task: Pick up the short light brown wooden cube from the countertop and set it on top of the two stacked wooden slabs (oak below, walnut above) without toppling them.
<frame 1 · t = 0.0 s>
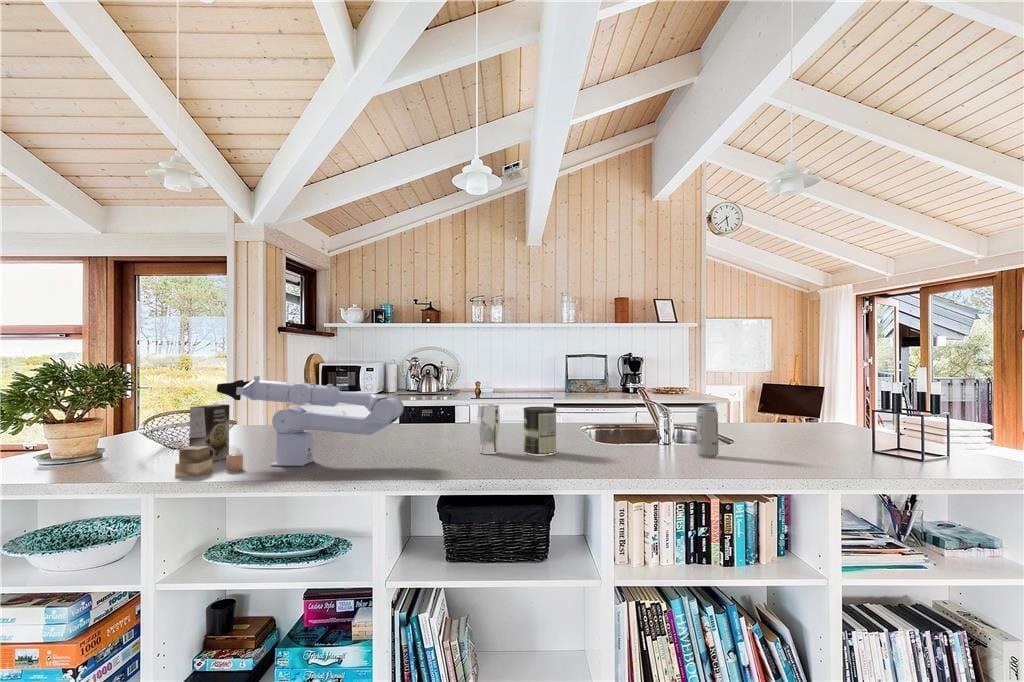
hand: (225, 387, 156), 22 cm above the countertop, tool horizontal, fingers open, 7 cm apart
coffee box: (209, 461, 160), on the countertop
walnut slab: (194, 461, 142), point 3 cm above the countertop, touching oak slab
light brown wooden cube: (234, 470, 147), on the countertop
energy drink can: (707, 457, 163), on the countertop
oak slab: (194, 474, 142), on the countertop, touching walnut slab
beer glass: (488, 453, 170), on the countertop
coffee can: (540, 454, 170), on the countertop
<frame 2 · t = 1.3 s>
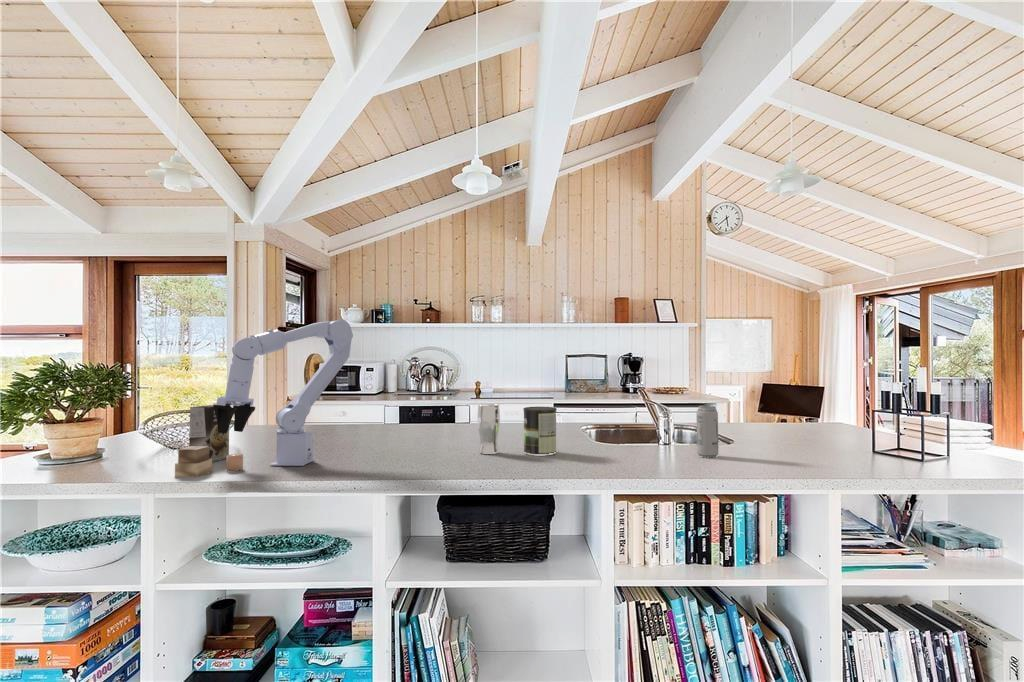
hand: (230, 432, 147), 10 cm above the countertop, tool pointing down, fingers open, 7 cm apart
nothing on the countertop moved.
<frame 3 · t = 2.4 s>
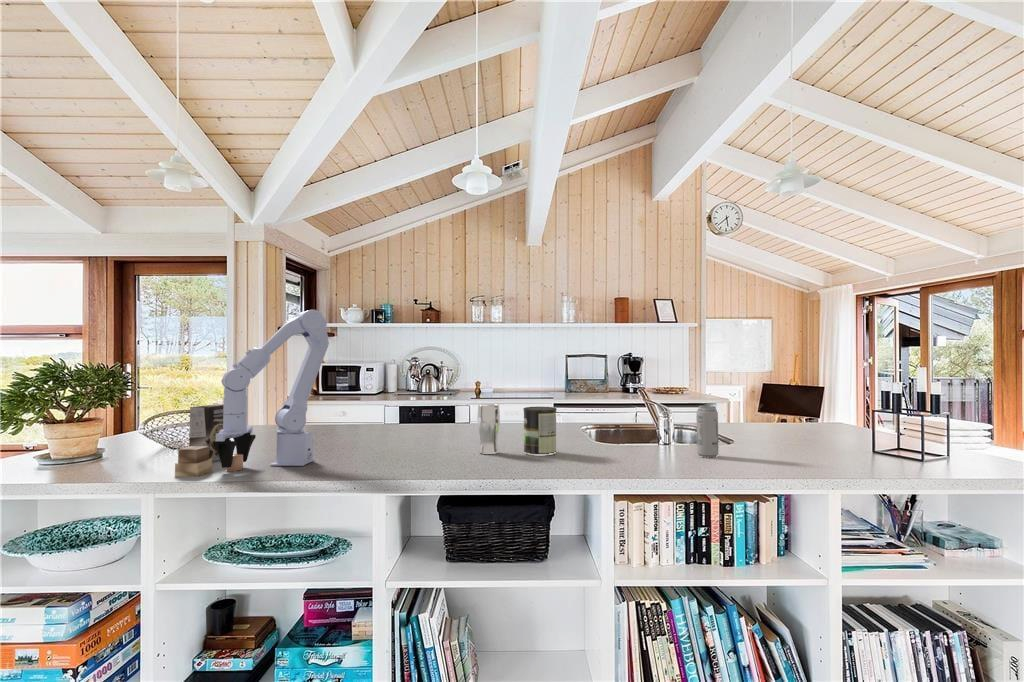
hand: (234, 464, 147), 1 cm above the countertop, tool pointing down, fingers open, 7 cm apart
nothing on the countertop moved.
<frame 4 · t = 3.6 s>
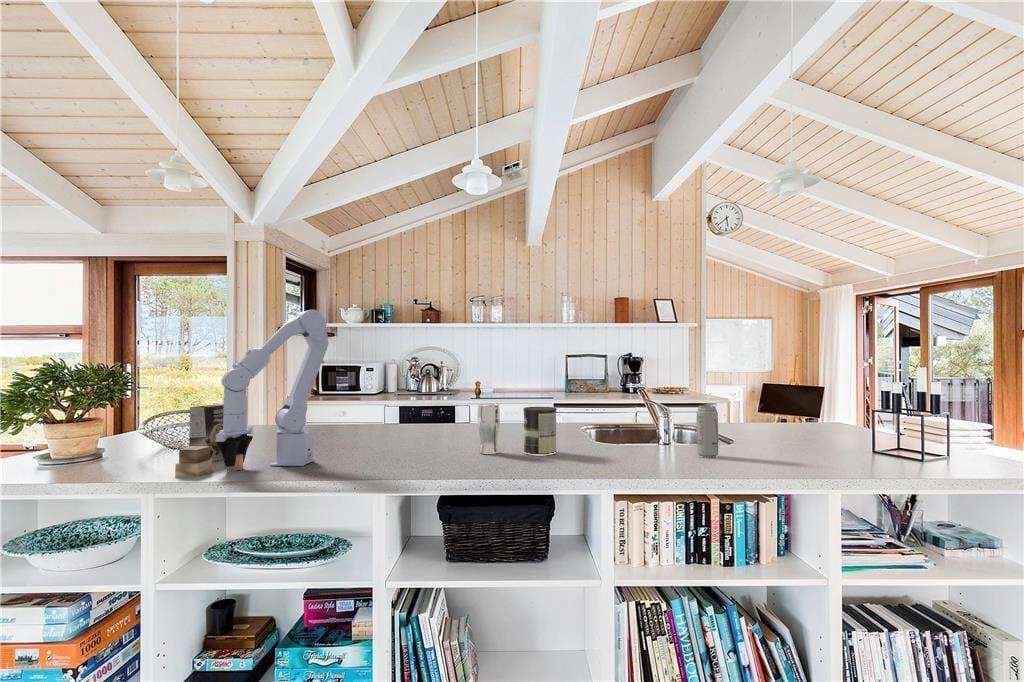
hand: (234, 464, 147), 1 cm above the countertop, tool pointing down, fingers closed on light brown wooden cube, 4 cm apart
light brown wooden cube: (234, 470, 147), on the countertop, touching gripper
everything else where it was.
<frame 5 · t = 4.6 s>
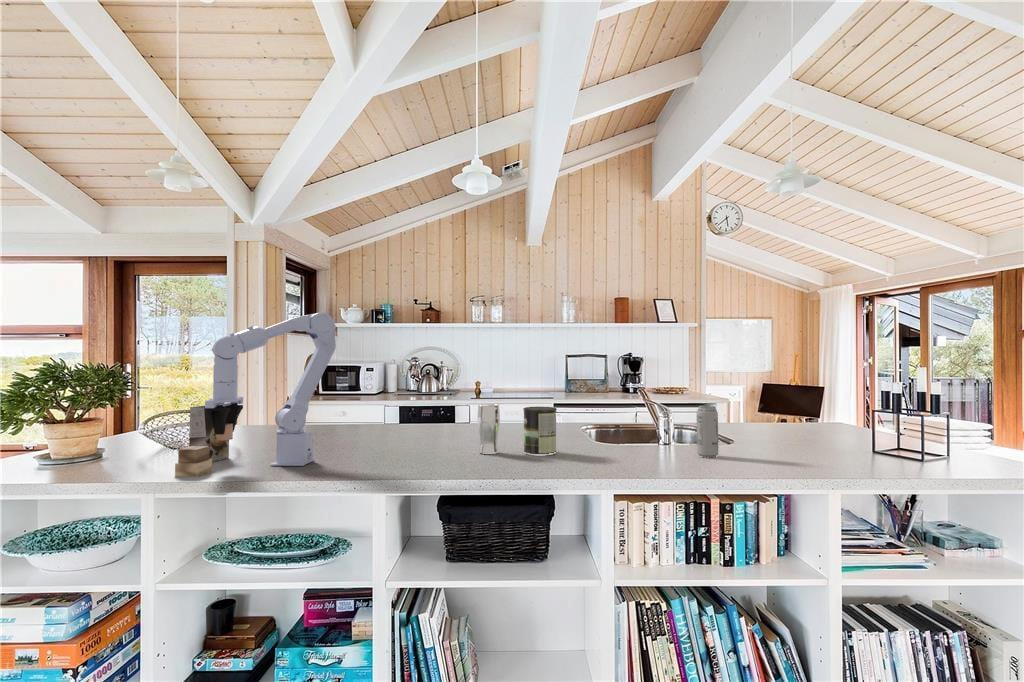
hand: (224, 433, 146), 10 cm above the countertop, tool pointing down, fingers closed on light brown wooden cube, 4 cm apart
light brown wooden cube: (224, 439, 146), point 8 cm above the countertop, touching gripper
everything else where it was.
when the fingers open (9 cm above the countertop, at t = 5.7 s): light brown wooden cube stays where it is, point 8 cm above the countertop.
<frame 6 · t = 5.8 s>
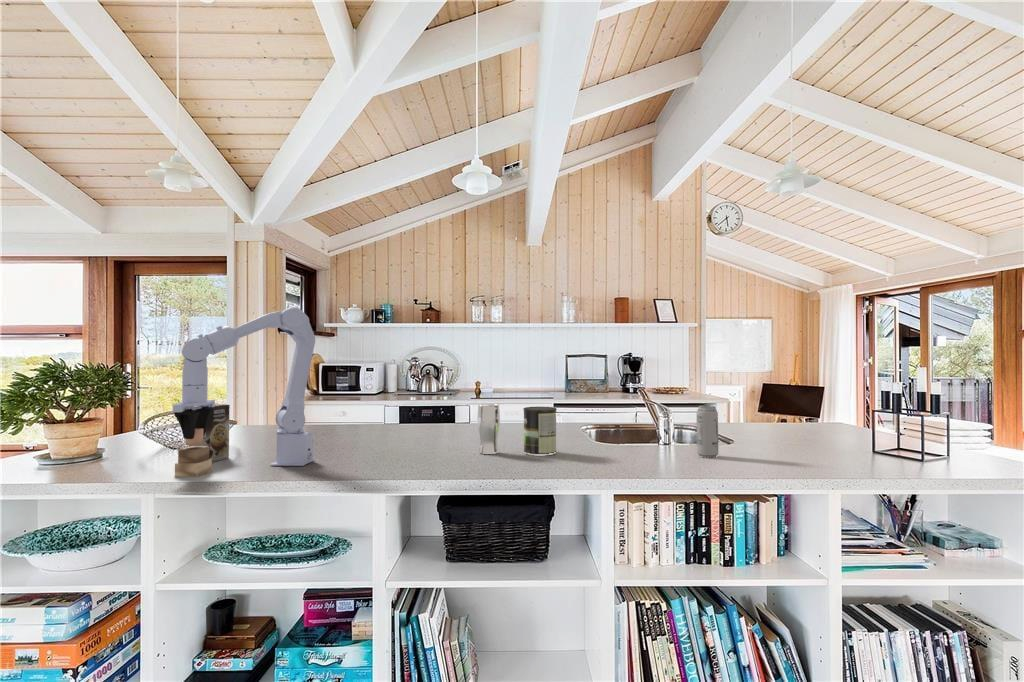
hand: (194, 437, 142), 9 cm above the countertop, tool pointing down, fingers open, 4 cm apart
light brown wooden cube: (194, 444, 142), point 8 cm above the countertop
everything else where it was.
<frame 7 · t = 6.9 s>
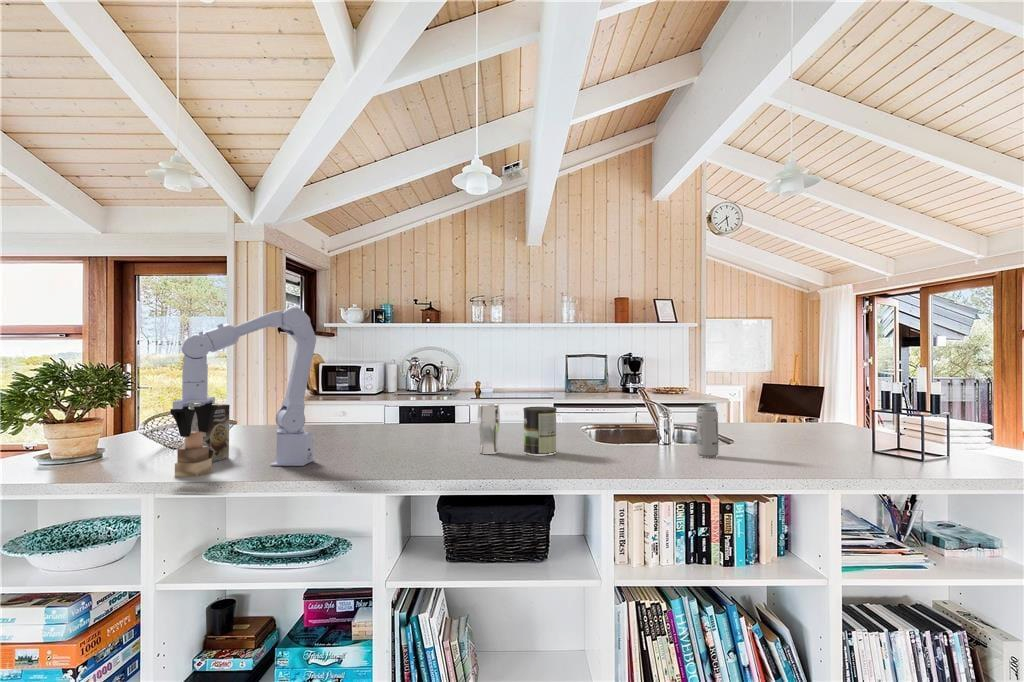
hand: (194, 434, 142), 10 cm above the countertop, tool pointing down, fingers open, 7 cm apart
walnut slab: (193, 461, 142), point 3 cm above the countertop, touching oak slab, light brown wooden cube
light brown wooden cube: (193, 447, 142), point 7 cm above the countertop, touching walnut slab
everything else where it was.
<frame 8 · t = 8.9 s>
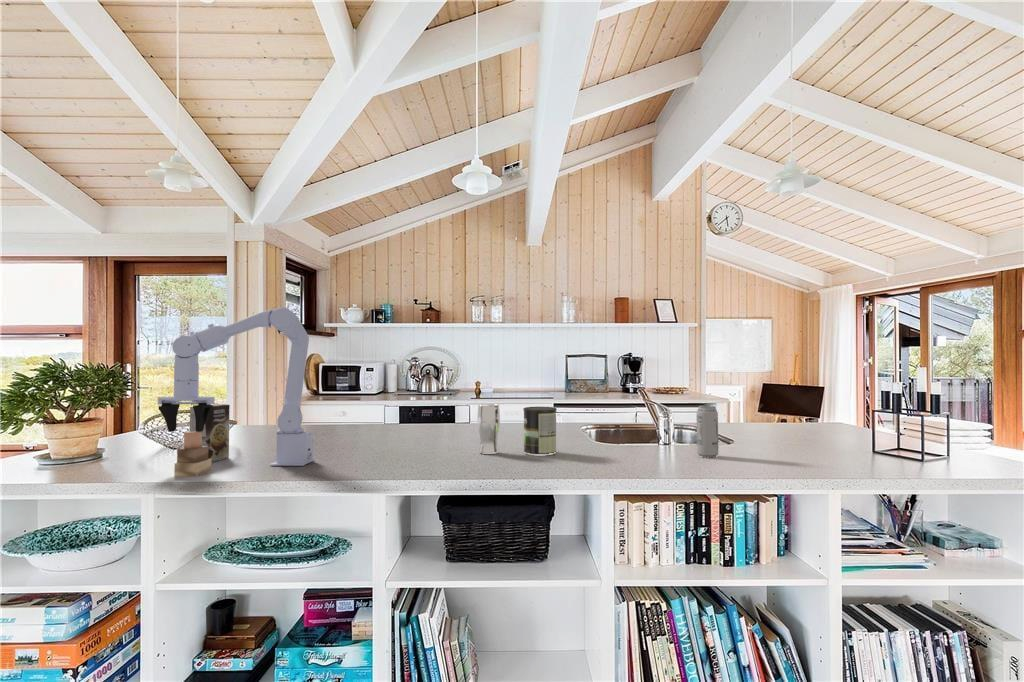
hand: (185, 431, 146), 10 cm above the countertop, tool pointing down, fingers open, 7 cm apart
nothing on the countertop moved.
at the end: light brown wooden cube 0.3 cm off-centre on the oak slab, point 7.0 cm above the oak slab's base; walnut slab 0.1 cm off-centre on the oak slab, point 3.5 cm above the oak slab's base; light brown wooden cube tilted 0° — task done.
